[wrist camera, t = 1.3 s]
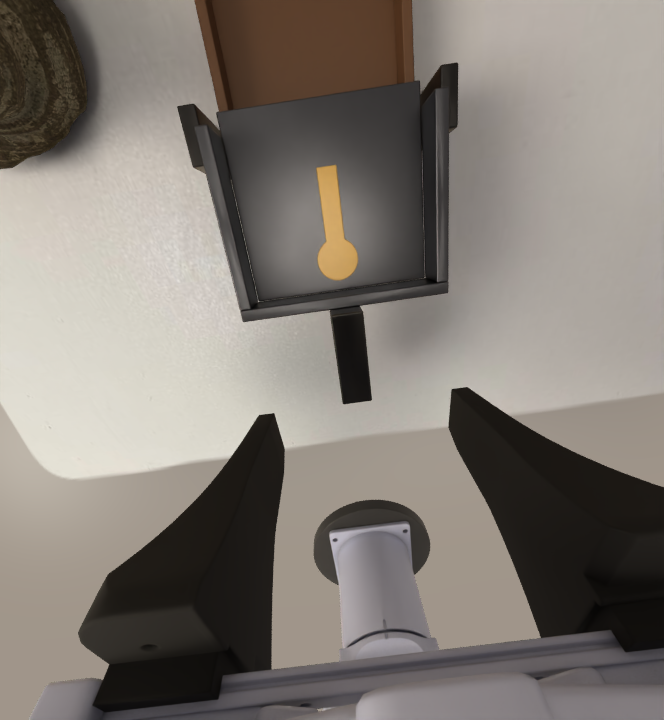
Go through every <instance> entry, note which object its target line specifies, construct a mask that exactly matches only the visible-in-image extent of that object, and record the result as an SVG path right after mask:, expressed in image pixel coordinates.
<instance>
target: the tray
mask: <svg viewBox="0 0 664 720" xmlns="http://www.w3.org/2000/svg"><path fill="white" fill-rule="evenodd" d="M195 5H196V9H197V14H198V18H199V23H200V27H201V32H202V36H203V41H204V45H205V50H206V54H207V59H208V63H209V68H210V72H211V77H212V81H213V86H214V90H215V95H216V99H217V104H218V108H219V112H221V111H227V110H234V109H240V108H247V107H253V106H259V105H266V104H272V103H278V102H285V101H291V100H298V99H304V98H310V97H317V96H323V95H329V94H336V93H342V92H349V91H355V90H361V89H368V88H374V87H380V86H387V85H393V84H400V83H406V82H412V81H414V55H413V22H412V0H195Z"/></svg>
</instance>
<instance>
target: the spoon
mask: <svg viewBox="0 0 664 720" xmlns="http://www.w3.org/2000/svg"><path fill="white" fill-rule="evenodd" d="M316 171H317V178H318V186H319V193H320V201H321V208H322V216H323V223H324V231H325V238H326V242H325V243H324V244H323V245H322V246H321V248H320V250H319V253H318V259H317V260H318V266H319V269H320V271H321V272H322V273H323V274H324V275H325V276H326V277H327V278H329V279H332V280H343V279H346V278H348V277H349V276H351V275H352V274H353V272H354V271H355V269H356V267H357V264H358V254H357V251H356V249H355V247H354V246H353V244H352V243H351V242H349V241H348V240H346V239H345V237H344V228H343V219H342V210H341V201H340V192H339V183H338V174H337V166H336V165H331V166H324V167H317V168H316Z"/></svg>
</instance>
